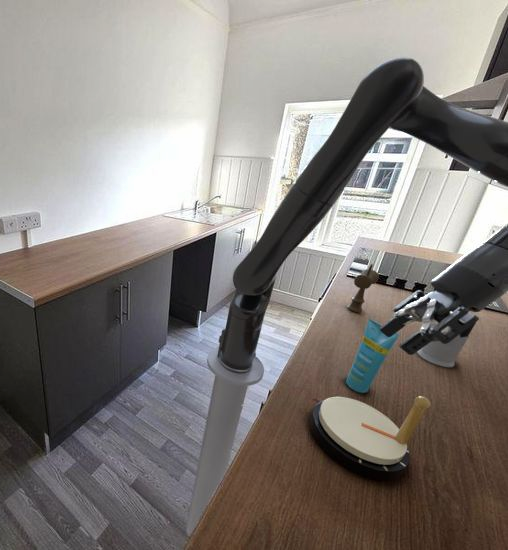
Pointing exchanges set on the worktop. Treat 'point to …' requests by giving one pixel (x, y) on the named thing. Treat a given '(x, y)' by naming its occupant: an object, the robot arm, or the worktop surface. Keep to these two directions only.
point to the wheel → (369, 428)
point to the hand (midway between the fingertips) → (393, 341)
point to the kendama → (362, 288)
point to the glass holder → (445, 349)
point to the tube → (369, 357)
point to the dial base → (352, 461)
